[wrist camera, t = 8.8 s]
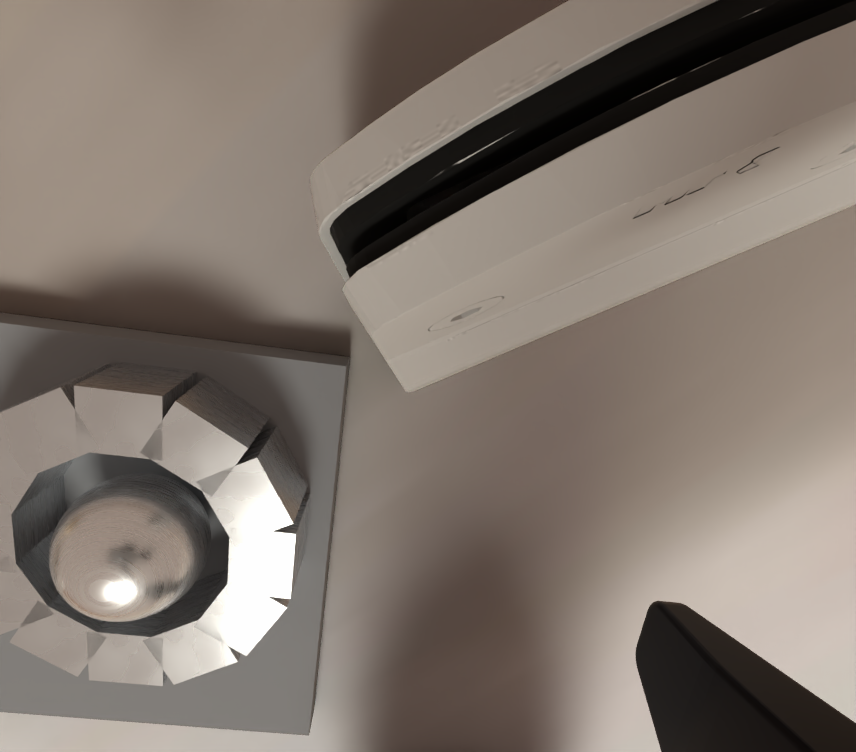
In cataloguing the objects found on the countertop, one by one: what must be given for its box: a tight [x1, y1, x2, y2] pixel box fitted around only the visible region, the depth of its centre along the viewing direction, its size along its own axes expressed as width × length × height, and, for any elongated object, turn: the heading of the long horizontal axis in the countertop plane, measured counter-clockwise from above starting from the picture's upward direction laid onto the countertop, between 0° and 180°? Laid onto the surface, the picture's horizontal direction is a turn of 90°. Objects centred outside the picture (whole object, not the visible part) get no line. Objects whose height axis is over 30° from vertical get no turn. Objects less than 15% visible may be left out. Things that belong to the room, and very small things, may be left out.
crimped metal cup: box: [0, 362, 310, 686], centre depth 17 cm, size 10×10×2 cm
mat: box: [0, 312, 350, 735], centre depth 19 cm, size 16×21×1 cm
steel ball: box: [49, 473, 211, 622], centre depth 17 cm, size 4×4×4 cm
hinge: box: [310, 0, 856, 392], centre depth 13 cm, size 17×5×10 cm, turn 113°
